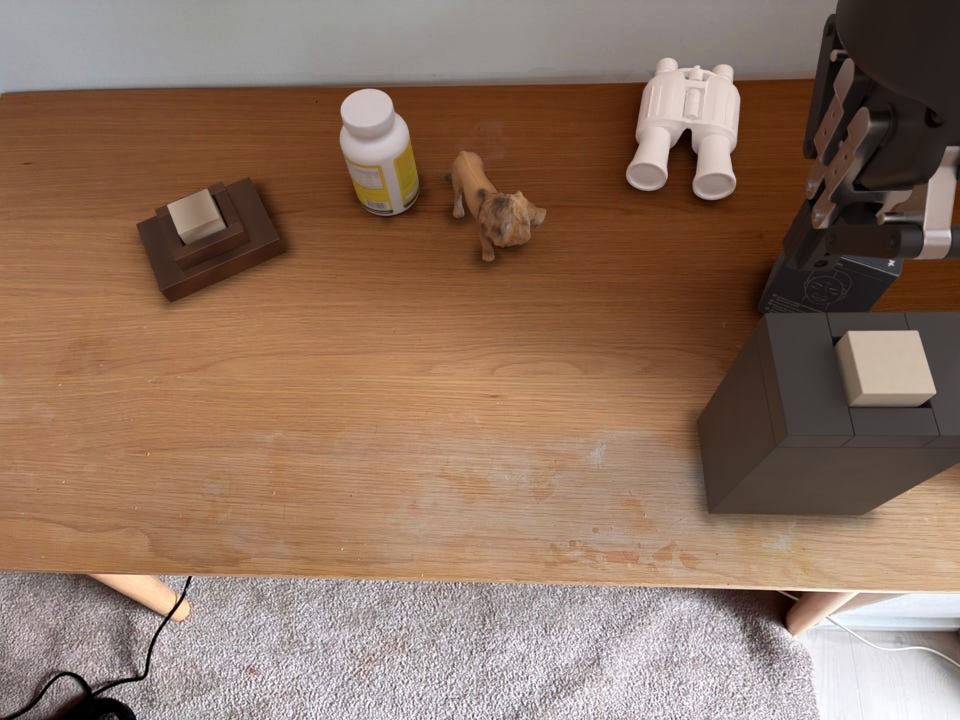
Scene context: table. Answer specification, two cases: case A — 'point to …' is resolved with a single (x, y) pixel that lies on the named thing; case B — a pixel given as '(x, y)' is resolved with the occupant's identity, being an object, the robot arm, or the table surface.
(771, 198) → the table surface
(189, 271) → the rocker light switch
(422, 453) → the table surface
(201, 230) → the key far
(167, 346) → the table surface
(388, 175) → the pill bottle
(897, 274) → the box
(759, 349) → the dark block with slot
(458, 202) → the lion figurine
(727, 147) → the binoculars
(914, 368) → the key near
